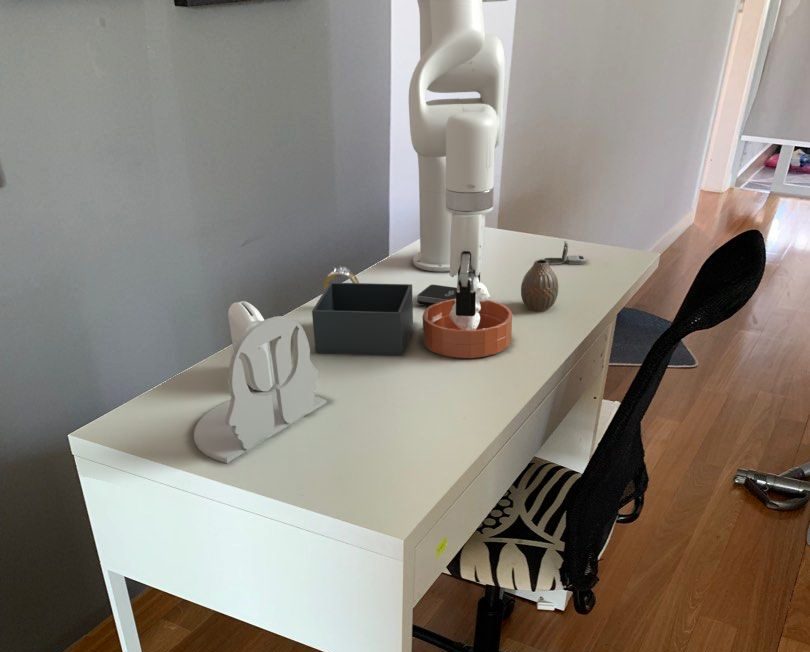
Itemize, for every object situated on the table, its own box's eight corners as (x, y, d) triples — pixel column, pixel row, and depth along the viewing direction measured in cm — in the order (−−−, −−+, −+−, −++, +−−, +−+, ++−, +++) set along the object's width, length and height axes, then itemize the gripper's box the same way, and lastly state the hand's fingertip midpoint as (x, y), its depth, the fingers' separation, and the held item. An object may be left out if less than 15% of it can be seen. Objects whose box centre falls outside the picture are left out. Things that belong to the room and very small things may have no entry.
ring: (363, 307, 164) (360, 266, 159) (356, 313, 161) (353, 271, 157) (330, 303, 166) (327, 262, 161) (323, 309, 164) (319, 267, 159)
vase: (556, 301, 164) (559, 255, 158) (557, 314, 158) (561, 267, 153) (519, 301, 164) (522, 255, 159) (520, 314, 159) (522, 267, 154)
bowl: (429, 323, 156) (428, 297, 153) (512, 326, 154) (513, 299, 151) (418, 358, 144) (417, 329, 141) (508, 361, 142) (509, 332, 139)
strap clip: (584, 259, 183) (586, 239, 181) (585, 264, 181) (587, 244, 178) (544, 260, 183) (545, 240, 181) (545, 264, 181) (546, 244, 179)
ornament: (227, 464, 117) (207, 349, 107) (162, 438, 124) (137, 328, 114) (329, 402, 132) (319, 296, 122) (265, 382, 138) (252, 280, 128)
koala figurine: (476, 351, 145) (478, 282, 138) (440, 346, 147) (439, 277, 140) (493, 333, 151) (495, 266, 144) (457, 328, 153) (458, 261, 146)
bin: (333, 322, 158) (329, 282, 154) (413, 324, 156) (412, 284, 152) (315, 353, 147) (311, 310, 143) (401, 356, 145) (400, 313, 141)
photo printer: (233, 370, 142) (222, 297, 135) (258, 364, 144) (248, 292, 136) (252, 394, 135) (241, 318, 127) (278, 388, 136) (269, 313, 129)
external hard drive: (469, 313, 160) (469, 303, 159) (415, 305, 164) (415, 295, 163) (482, 301, 165) (483, 291, 164) (430, 294, 169) (430, 284, 168)
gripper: (451, 186, 143) (451, 287, 153) (439, 213, 129) (440, 323, 139) (496, 186, 142) (493, 288, 152) (489, 214, 128) (486, 324, 138)
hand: (468, 305), depth 145 cm, fingers open, 9 cm apart
